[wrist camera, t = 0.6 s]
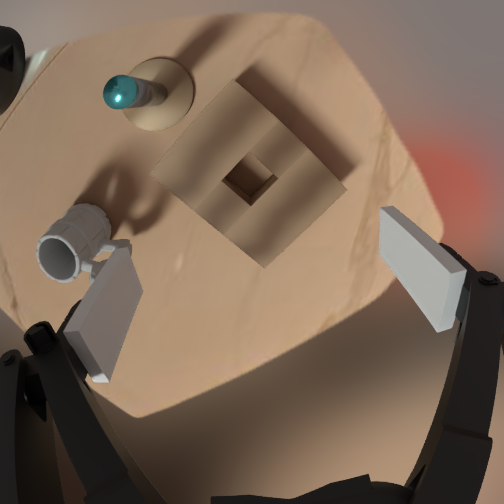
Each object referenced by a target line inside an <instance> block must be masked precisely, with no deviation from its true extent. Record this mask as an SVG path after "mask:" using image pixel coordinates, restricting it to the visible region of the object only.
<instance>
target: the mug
mask: <svg viewBox="0 0 504 504" xmlns="http://www.w3.org/2000/svg"><path fill="white" fill-rule="evenodd" d="M109 222H110V221H109V218H107V217H106V213H105V212H104V211H103V210H102V209H101V208H99V207H98V206H96V205H90V204H89V203H83V204H77V205H74V206H72V207H71V208H69V209H68V210H67V211H66V212H65V213H64V215H63V217H62V219H59V220H57V221H56V222H55V223H54V224H52V225H51V226H50V227H49V228H48V230H47V232H46V233H45V234H44V235H43V236H42V237H41V238H40V240H39V241H38V243H37V251H36V252H37V260H38V262H39V266H40V267H41V269H42V270H43V272H44V273H45V274H46V275H47V276H48V277H50V278H51V279H53V280H55V279H56V280H57V282H61V283H67V282H71V281H73V280H74V279H75V278H76V277H77V276H78V275H79V274H80V273H81V272H83V271H87V272H91V273H90V277H89V280H90V283H91V285H92V283H93V281H94V280H95V278H96V277H97V275H98V274H99V272H100V271H101V269H102V268H103V266H104V265H105V263H106V262H107V260H108V259H106V260H103V261H101V262H96V261H93V258H94V257H96V256H98V255H100V254H101V253H102V252H103V251H111V252H113V251H114V250H115V249H119V248H125V247H128V250H129V253H130V256H131V254H132V245H131V244H130V240H128V239H120V240H110V236H111V224H110V223H109Z"/></svg>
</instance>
